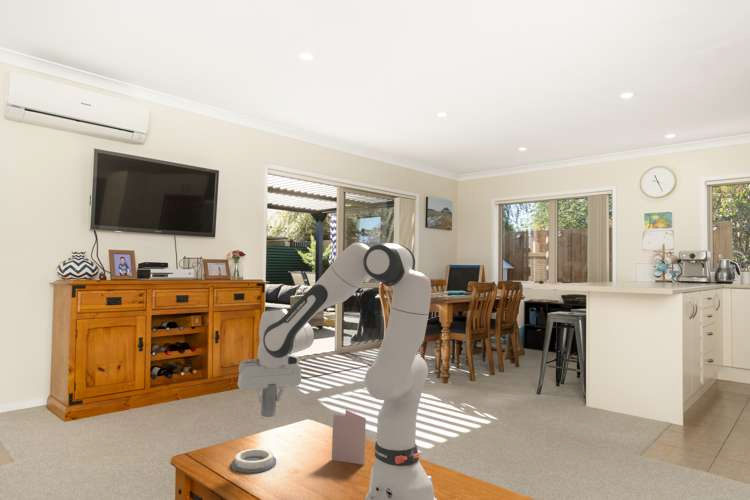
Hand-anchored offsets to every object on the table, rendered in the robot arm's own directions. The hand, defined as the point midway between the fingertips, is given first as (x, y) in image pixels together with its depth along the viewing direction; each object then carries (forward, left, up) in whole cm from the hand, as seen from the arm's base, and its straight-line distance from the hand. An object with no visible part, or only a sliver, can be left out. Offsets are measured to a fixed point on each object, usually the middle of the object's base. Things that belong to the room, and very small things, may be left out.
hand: (268, 401), depth 155 cm
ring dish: (+3, +3, -20) cm, 21 cm away
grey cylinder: (0, 0, -5) cm, 5 cm away
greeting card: (-8, -25, -21) cm, 33 cm away
